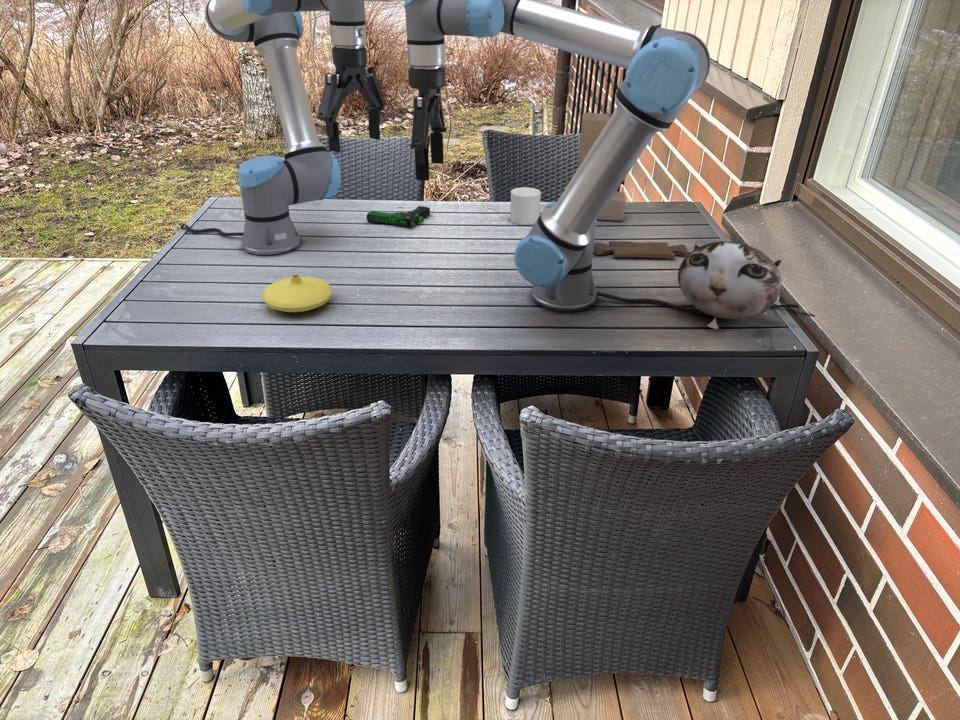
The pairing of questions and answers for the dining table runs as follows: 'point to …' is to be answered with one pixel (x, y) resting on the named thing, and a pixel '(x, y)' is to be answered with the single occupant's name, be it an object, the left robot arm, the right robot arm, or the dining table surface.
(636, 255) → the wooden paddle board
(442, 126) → the right robot arm
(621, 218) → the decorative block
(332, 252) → the dining table surface
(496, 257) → the dining table surface
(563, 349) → the dining table surface
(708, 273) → the cat face balloon
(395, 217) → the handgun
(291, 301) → the vase
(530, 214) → the can
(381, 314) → the dining table surface
